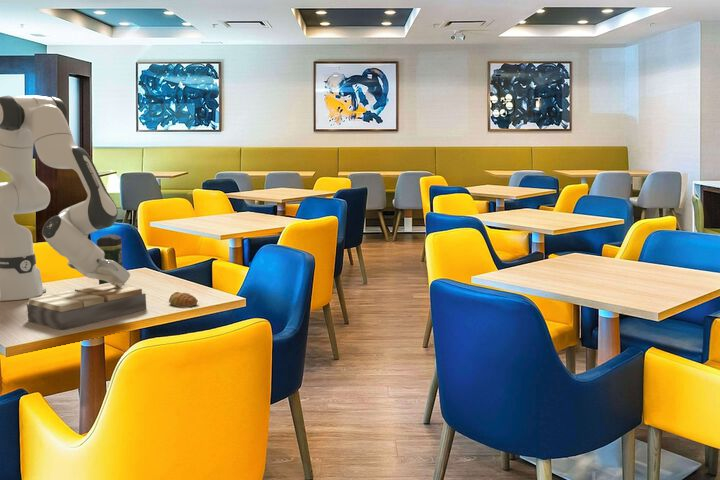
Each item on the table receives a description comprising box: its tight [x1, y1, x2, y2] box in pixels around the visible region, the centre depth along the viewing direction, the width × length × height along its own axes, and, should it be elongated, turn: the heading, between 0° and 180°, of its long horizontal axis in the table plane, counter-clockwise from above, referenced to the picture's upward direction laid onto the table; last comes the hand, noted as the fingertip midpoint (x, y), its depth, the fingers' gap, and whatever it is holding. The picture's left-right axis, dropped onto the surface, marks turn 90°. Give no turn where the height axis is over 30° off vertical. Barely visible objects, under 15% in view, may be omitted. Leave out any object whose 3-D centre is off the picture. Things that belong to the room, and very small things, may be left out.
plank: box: [74, 283, 143, 301], centre depth 213 cm, size 17×12×2 cm
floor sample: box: [26, 290, 147, 331], centre depth 208 cm, size 18×28×7 cm, turn 144°
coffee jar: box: [96, 234, 124, 285], centre depth 250 cm, size 10×8×19 cm
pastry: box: [168, 291, 199, 308], centre depth 220 cm, size 9×7×4 cm
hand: (119, 285), depth 216 cm, fingers closed, pressing on plank
